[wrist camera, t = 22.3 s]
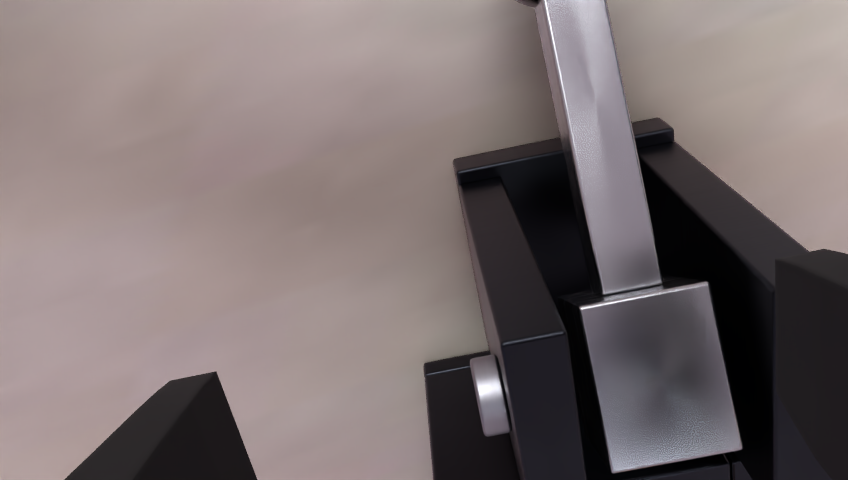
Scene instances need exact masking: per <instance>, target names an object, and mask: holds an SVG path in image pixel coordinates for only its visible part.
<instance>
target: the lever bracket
mask: <svg viewBox="0 0 848 480" xmlns="http://www.w3.org/2000/svg"><path fill="white" fill-rule="evenodd" d="M632 128H633V133H634V138H635V143H636V148H637V153H638V158H639V163H640V168H641V173H642V178H643V183H644V187H645V192H646V197H647V202H648V207H649V212H650V217H651V222H652V227H653V232H654V237H655V242H656V247H657V252H658V256H659V261H660V266H661V271H662V276H664V275H668V276H675V277H682V278H689V279H695V280H702V281H708V282H709V283H710V284H711V289H712V294H713V299H714V304H715V309H716V313H717V318H718V323H719V328H720V333H721V338H722V343H723V348H724V353H725V358H726V363H727V367H728V372H729V377H730V382H731V387H732V392H733V397H734V402H735V407H736V412H737V417H738V421H739V426H740V431H741V436H742V441H743V449H741V450H738V451H734V452H735V453H736V455H737V457H738V458H739V460H740V461H741V463H742V464H743V466H744V468H745V469H746V471H747V472H748V474H749V475H750V477H751V479H752V480H832V479H831V478H830V477H829V475H828V474H827V473H826V471H825V470H824V469H823V468H822V466H821V465H820V464H819V462H818V461H817V460H816V458H815V457H814V455H813V454H812V452H811V450H810V449H809V447H808V445H807V444H806V442H805V441H804V439H803V437H802V436H801V434H800V433H799V431H798V429H797V428H796V426H795V424H794V422H793V421H792V419H791V417H790V415H789V414H788V412H787V410H786V409H785V407H784V405H783V403H782V402H781V400H780V398H779V396H778V395H777V393H776V316H775V259H777V258H782V257H787V256H792V255H797V254H802V253H807V252H809V251H808V250H806V249H805V248H804V247H803V246H802V245H800V244H799V243H798V242H797V241H795V240H794V239H793V238H792V237H791V236H789V235H788V234H787V233H786V232H784V231H783V230H782V229H781V228H780V227H778V226H777V225H776V224H775V223H773V222H772V221H771V220H770V219H769V218H767V217H766V216H765V215H764V214H762V213H761V212H760V211H759V210H758V209H756V208H755V207H754V206H753V205H751V204H750V203H749V202H748V201H747V200H745V199H744V198H743V197H742V196H741V195H739V194H738V193H737V192H736V191H734V190H733V189H732V188H731V187H730V186H728V185H727V184H726V183H725V182H723V181H722V180H721V179H720V178H719V177H717V176H716V175H715V174H714V173H712V172H711V171H710V170H709V169H708V168H706V167H705V166H704V165H703V164H701V163H700V162H699V161H698V160H697V159H695V158H694V157H693V156H692V155H690V154H689V153H688V152H687V151H686V150H684V149H683V148H682V147H681V146H680V145H678V144H677V143H676V142H674V130H673V128H672V127H671V126H669V125H668V124H667V123H666V122H664V121H663V120H662V119H660V118H653V119H648V120H643V121H638V122H634V123H632ZM453 165H454V170H455V176H456V181H457V186H458V191H459V197H460V202H461V207H462V212H463V218H464V223H465V228H466V233H467V239H468V244H469V249H470V254H471V260H472V265H473V270H474V276H475V281H476V286H477V291H478V297H479V302H480V307H481V312H482V318H483V323H484V328H485V333H486V338H487V342H488V346H489V350H490V353H491V355H487V356H482V357H477V358H472V359H471V360H470V366H471V372H472V377H473V382H474V387H475V392H476V397H477V403H478V408H479V413H480V417H481V422H482V427H483V432H484V434H485V436H488V437H489V436H494V435H499V434H505V433H509V434H510V438H511V442H512V447H513V451H514V455H515V459H516V464H517V468H518V472H519V476H520V480H587V475H586V468H585V461H584V453H583V446H582V439H581V431H580V424H579V417H578V409H577V402H576V395H575V387H574V380H573V373H572V365H571V358H570V351H569V343H568V336H567V331H566V329H565V327H564V324H563V322H562V318H561V313H560V308H559V303H558V297H559V296H561V295H566V294H572V293H577V292H582V291H587V290H591V287H590V282H589V277H588V272H587V267H586V262H585V257H584V252H583V247H582V243H581V238H580V233H579V228H578V223H577V218H576V213H575V208H574V203H573V198H572V193H571V188H570V183H569V178H568V173H567V168H566V163H565V158H564V153H563V148H562V143H561V138H555V139H550V140H545V141H540V142H535V143H530V144H525V145H521V146H516V147H511V148H506V149H501V150H496V151H491V152H486V153H481V154H476V155H471V156H466V157H462V158H457V159H454V160H453Z"/></svg>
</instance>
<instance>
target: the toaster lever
mask: <svg viewBox="0 0 848 480" xmlns="http://www.w3.org/2000/svg"><path fill="white" fill-rule="evenodd" d="M515 1H517V2H519V3H521V4H524V5H526V6H530V7H533V8H534V9H535V14H536V19H537V24H538V29H539V34H540V39H541V44H542V49H543V54H544V59H545V64H546V69H547V74H548V79H549V84H550V89H551V94H552V99H553V104H554V109H555V114H556V119H557V124H558V128H559V133H560V138H561V143H562V148H563V153H564V158H565V163H566V168H567V173H568V178H569V183H570V188H571V193H572V198H573V203H574V208H575V213H576V218H577V223H578V228H579V233H580V238H581V243H582V247H583V252H584V257H585V262H586V267H587V272H588V277H589V282H590V287H591V290H587V291H582V292H577V293H572V294H566V295H561V296H559V297H558V303H559V308H560V313H561V318H562V322H563V324H564V327H565V329H566V331H567V336H568V343H569V351H570V358H571V365H572V373H573V378H574V383H575V388H576V393H577V398H578V403H579V408H580V413H581V418H582V423H583V428H584V433H585V435H586V437H587V438H588V440H589V441H590V443H591V444H592V446H593V447H594V449H595V450H596V451H597V453H598V454H599V456H600V457H601V459H602V460H603V462H604V463H605V465H606V466H607V467H608V469H609V470H610V472H611V473H620V472H625V471H631V470H636V469H641V468H647V467H652V466H657V465H663V464H668V463H674V462H679V461H684V460H690V459H695V458H700V457H706V456H711V455H717V454H722V453H727V452H733V451H738V450H741V449H743V441H742V436H741V431H740V426H739V421H738V417H737V412H736V407H735V402H734V397H733V392H732V387H731V382H730V377H729V372H728V367H727V363H726V358H725V353H724V348H723V343H722V338H721V333H720V328H719V323H718V318H717V313H716V309H715V304H714V299H713V294H712V289H711V284H710V283H709V282H708V281H702V280H695V279H689V278H682V277H675V276H668V275H664V276H662V271H661V266H660V261H659V256H658V252H657V247H656V242H655V237H654V232H653V227H652V222H651V217H650V212H649V207H648V202H647V197H646V192H645V187H644V183H643V178H642V173H641V168H640V163H639V158H638V153H637V148H636V143H635V138H634V133H633V128H632V123H631V118H630V114H629V109H628V104H627V99H626V94H625V89H624V84H623V79H622V74H621V69H620V64H619V59H618V54H617V49H616V45H615V40H614V35H613V30H612V25H611V20H610V15H609V10H608V5H607V0H515Z"/></svg>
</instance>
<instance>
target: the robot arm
mask: <svg viewBox="0 0 848 480" xmlns="http://www.w3.org/2000/svg"><path fill="white" fill-rule="evenodd" d="M775 316H776V393H777V395H778V396H779V398H780V400H781V402H782V403H783V405H784V407H785V409H786V410H787V412H788V414H789V415H790V417H791V419H792V421H793V422H794V424H795V426H796V428H797V429H798V431H799V433H800V434H801V436H802V437H803V439H804V441H805V442H806V444H807V445H808V447H809V449H810V450H811V452H812V454H813V455H814V457H815V458H816V460H817V461H818V462H819V464H820V465H821V466H822V468H823V469H824V470H825V471H826V473H827V474H828V475H829V477H830V478H831V479H832V480H848V254H845V253H841V252H836V251H831V250H827V249H821V250H816V251H812V252H807V253H802V254H797V255H792V256H787V257H782V258H777V259H775ZM65 480H257V478H256V475H255V472H254V470H253V467H252V465H251V462H250V459H249V457H248V454H247V451H246V449H245V446H244V443H243V441H242V438H241V436H240V433H239V430H238V428H237V425H236V422H235V420H234V417H233V415H232V412H231V409H230V407H229V404H228V401H227V399H226V396H225V394H224V391H223V388H222V386H221V383H220V380H219V378H218V375H217V372H211V373H206V374H201V375H196V376H191V377H186V378H181V379H176V380H171V381H169V382H168V383H167V384H166V385H164V386H163V387H162V388H161V389H159V390H158V391H157V392H156V393H155V394H154V395H153V396H151V397H150V398H149V399H148V400H147V401H146V402H145V403H144V404H143V405H142V406H141V407H139V408H138V409H137V410H136V411H135V412H134V413H133V414H132V415H131V416H130V417H129V418H128V419H127V420H126V421H125V422H124V423H123V424H122V425H121V426H120V427H119V428H118V429H117V430H116V431H114V432H113V433H112V434H111V435H110V436H109V437H108V438H107V439H106V440H105V441H104V442H103V443H102V444H101V445H100V446H99V447H98V448H97V449H96V450H95V451H94V452H93V453H92V454H91V455H90V456H89V457H88V458H87V459H85V460H84V461H83V462H82V463H81V464H80V465H79V466H78V467H77V468H76V469H75V470H74V471H73V472H72V473H71V474H70V475H69V476H68V477H67V478H66V479H65Z"/></svg>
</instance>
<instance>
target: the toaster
mask: <svg viewBox="0 0 848 480" xmlns="http://www.w3.org/2000/svg"><path fill="white" fill-rule="evenodd" d="M487 355H491V353H490V351H484V352H479V353H474V354H469V355H464V356H459V357H453V358H448V359H443V360H438V361H433V362H427V363H425V364H424V376H425V387H426V399H427V411H428V423H429V435H430V447H431V459H432V471H433V480H520V476H519V472H518V468H517V464H516V459H515V455H514V451H513V447H512V442H511V438H510V434H509V433H505V434H499V435H494V436H489V437H488V436H485V434H484V432H483V427H482V422H481V417H480V413H479V408H478V403H477V397H476V392H475V387H474V382H473V377H472V372H471V366H470V360H471V359H472V358H477V357H482V356H487ZM573 380H574V378H573ZM574 387H575V383H574ZM575 395H576V402H577V409H578V417H579V424H580V431H581V439H582V446H583V453H584V461H585V468H586V475H587V480H752V479H751V477H750V475H749V474H748V472H747V471H746V469H745V468H744V466H743V464H742V463H741V461H740V460H739V458H738V457H737V455H736V453H735V452H734V451H733V452H727V453H722V454H717V455H711V456H706V457H700V458H695V459H690V460H684V461H679V462H674V463H668V464H663V465H657V466H652V467H647V468H641V469H636V470H631V471H625V472H620V473H611V472H610V470H609V469H608V467H607V466H606V465H605V463H604V462H603V460H602V459H601V457H600V456H599V454H598V453H597V451H596V450H595V449H594V447H593V446H592V444H591V443H590V441H589V440H588V438H587V437H586V435H585V433H584V428H583V423H582V418H581V413H580V408H579V403H578V398H577V393H576V388H575Z"/></svg>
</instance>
